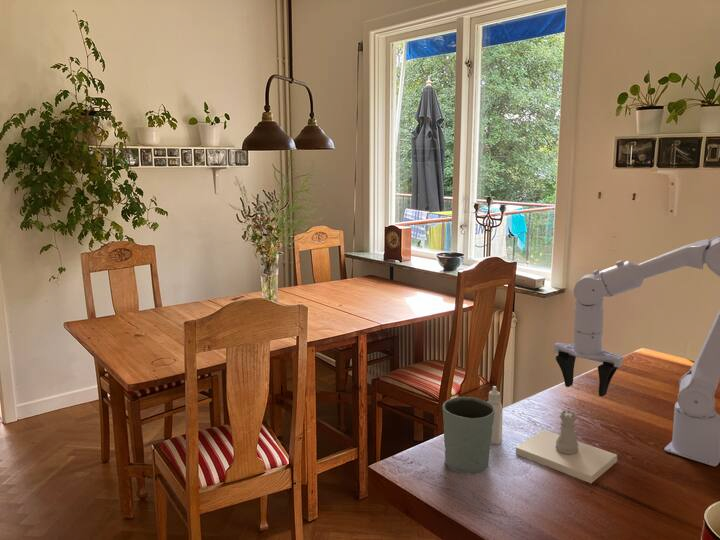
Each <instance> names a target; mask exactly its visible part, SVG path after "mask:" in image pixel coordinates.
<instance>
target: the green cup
mask: <svg viewBox="0 0 720 540" xmlns="http://www.w3.org/2000/svg"><path fill="white" fill-rule="evenodd" d="M494 413H495V409H494V407H493V405H492V404H490V403H489V401H486V400H483V399H480V398H477V397H472V396H471V397H469V396H459V397H458V396H457V397H453V398H449V399H447V400H446V401H444V402H443V403H442V417H443V418H442V419H443V420H442V421H443V439H444V440H443V443H444V448H445V449H444V458H445V464H446V466H447V465H448V466H449V467H450V468H449V467H448V466H447V467H448V468H449V469H450V470H452V469H453V470H452V471H454V470H455V472H457V471H458V473H460V472H461V474H468V473H471V474H477V473H481V472H483V471H485V470H486V469H488V467H489V462H490V451H491V446H492V444H490V443H491V437H492V425H493V420H494Z"/></svg>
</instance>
